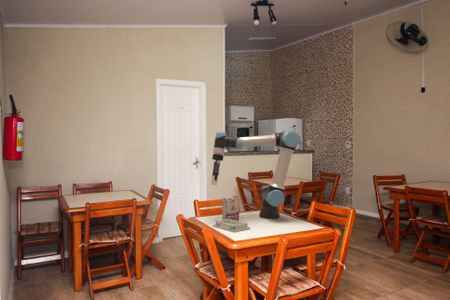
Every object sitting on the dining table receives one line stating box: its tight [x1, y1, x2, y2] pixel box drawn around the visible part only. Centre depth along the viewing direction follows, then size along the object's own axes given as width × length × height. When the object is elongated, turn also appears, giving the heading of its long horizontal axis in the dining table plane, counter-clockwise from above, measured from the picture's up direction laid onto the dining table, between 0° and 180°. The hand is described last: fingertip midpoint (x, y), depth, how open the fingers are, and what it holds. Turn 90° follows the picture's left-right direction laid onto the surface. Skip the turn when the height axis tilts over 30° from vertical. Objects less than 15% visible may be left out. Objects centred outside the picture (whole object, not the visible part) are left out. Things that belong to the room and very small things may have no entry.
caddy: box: [212, 219, 251, 233], centre depth 224 cm, size 14×20×4 cm
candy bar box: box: [221, 196, 240, 221], centre depth 241 cm, size 11×5×16 cm, turn 126°
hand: (213, 185), depth 239 cm, fingers open, 13 cm apart
